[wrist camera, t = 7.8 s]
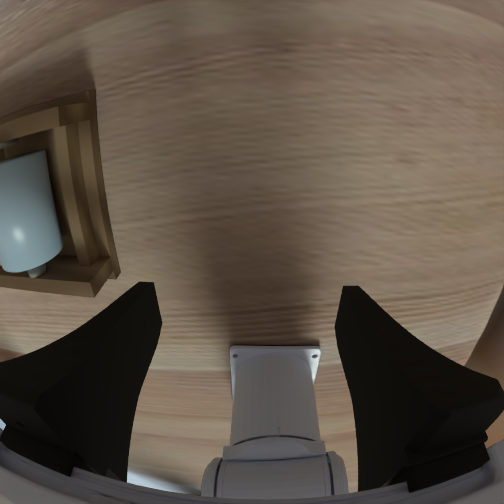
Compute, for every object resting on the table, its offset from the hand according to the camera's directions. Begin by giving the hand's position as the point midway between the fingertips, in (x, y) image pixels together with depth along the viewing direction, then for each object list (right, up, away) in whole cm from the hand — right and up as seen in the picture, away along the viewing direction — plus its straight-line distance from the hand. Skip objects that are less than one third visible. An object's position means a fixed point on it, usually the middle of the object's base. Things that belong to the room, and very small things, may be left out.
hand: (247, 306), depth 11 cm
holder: (-16, +7, +8) cm, 19 cm away
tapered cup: (-16, +6, +7) cm, 18 cm away
